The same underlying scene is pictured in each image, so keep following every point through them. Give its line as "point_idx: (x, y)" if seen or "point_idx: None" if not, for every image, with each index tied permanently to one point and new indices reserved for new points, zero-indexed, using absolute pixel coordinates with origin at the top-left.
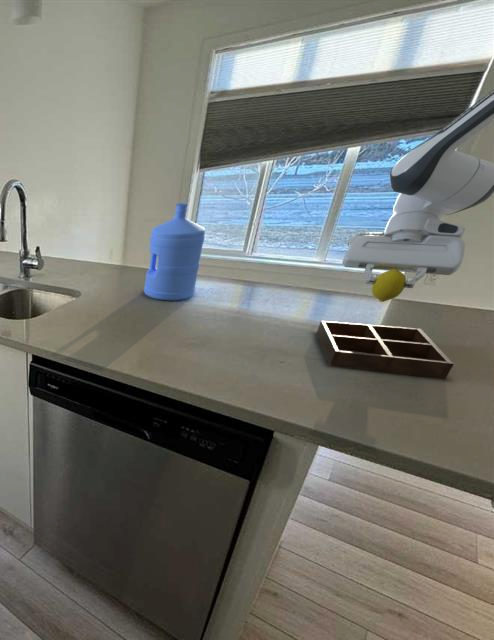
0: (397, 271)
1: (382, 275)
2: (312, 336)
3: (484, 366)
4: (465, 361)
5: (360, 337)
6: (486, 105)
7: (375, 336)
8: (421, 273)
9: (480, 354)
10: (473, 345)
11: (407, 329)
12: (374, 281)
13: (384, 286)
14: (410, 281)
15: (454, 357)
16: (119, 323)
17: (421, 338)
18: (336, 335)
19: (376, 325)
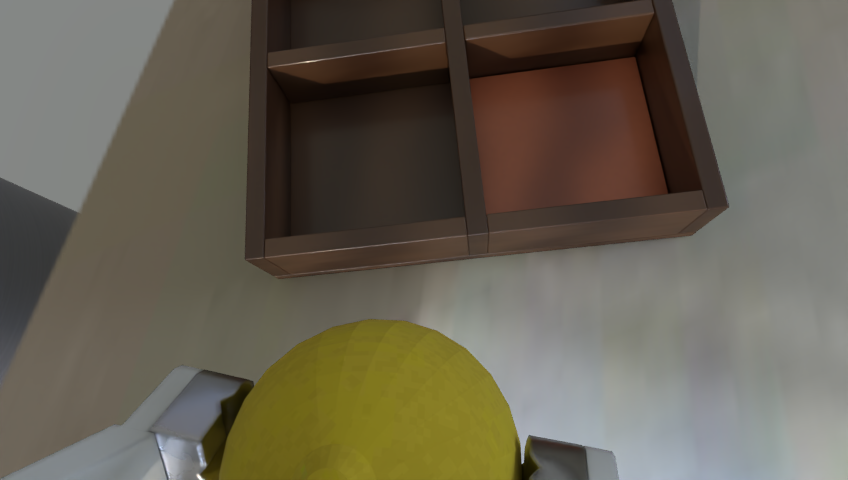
0: (304, 457)
1: (477, 433)
2: None
3: (126, 117)
4: (165, 139)
5: (530, 26)
6: None
7: (466, 63)
8: (31, 478)
9: (85, 234)
10: (62, 336)
11: (305, 236)
12: (530, 439)
13: (437, 332)
14: (198, 392)
15: (185, 164)
16: None
17: (272, 162)
18: (633, 9)
19: (442, 230)
